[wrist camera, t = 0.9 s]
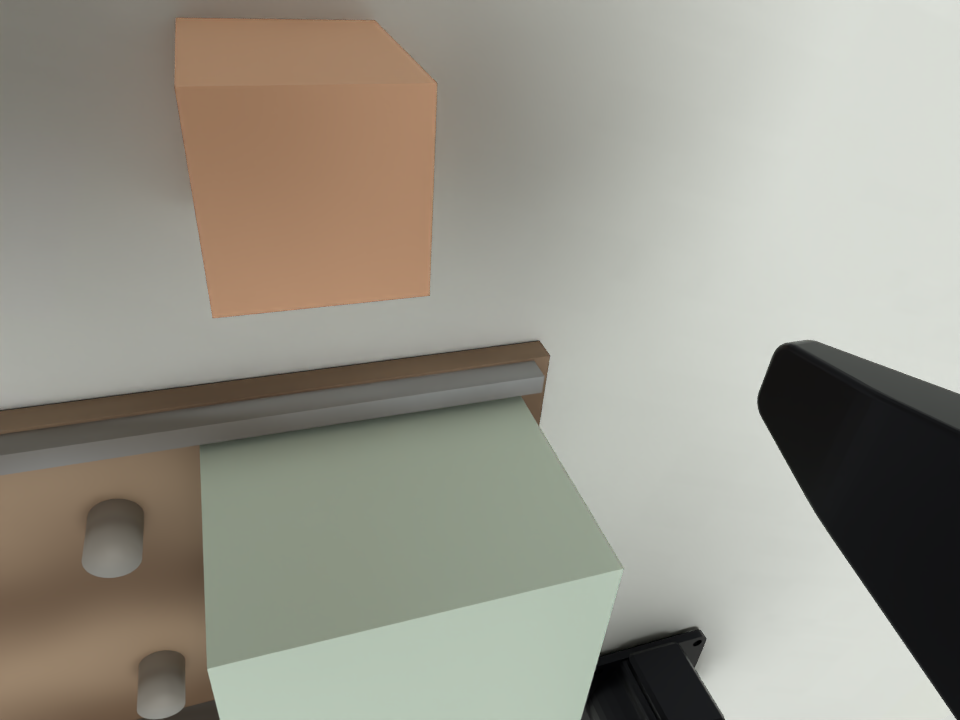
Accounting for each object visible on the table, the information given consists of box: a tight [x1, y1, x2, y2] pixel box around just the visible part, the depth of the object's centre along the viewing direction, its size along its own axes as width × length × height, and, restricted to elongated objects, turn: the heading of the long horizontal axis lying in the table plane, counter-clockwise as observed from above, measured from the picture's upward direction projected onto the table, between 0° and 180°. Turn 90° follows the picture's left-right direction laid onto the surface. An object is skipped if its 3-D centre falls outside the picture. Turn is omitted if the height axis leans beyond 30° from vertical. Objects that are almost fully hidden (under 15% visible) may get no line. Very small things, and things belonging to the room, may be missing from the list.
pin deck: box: [0, 341, 550, 720], centre depth 22 cm, size 14×22×2 cm, turn 86°
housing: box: [200, 396, 624, 720], centre depth 21 cm, size 12×9×7 cm
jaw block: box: [174, 18, 437, 318], centre depth 14 cm, size 4×4×5 cm
